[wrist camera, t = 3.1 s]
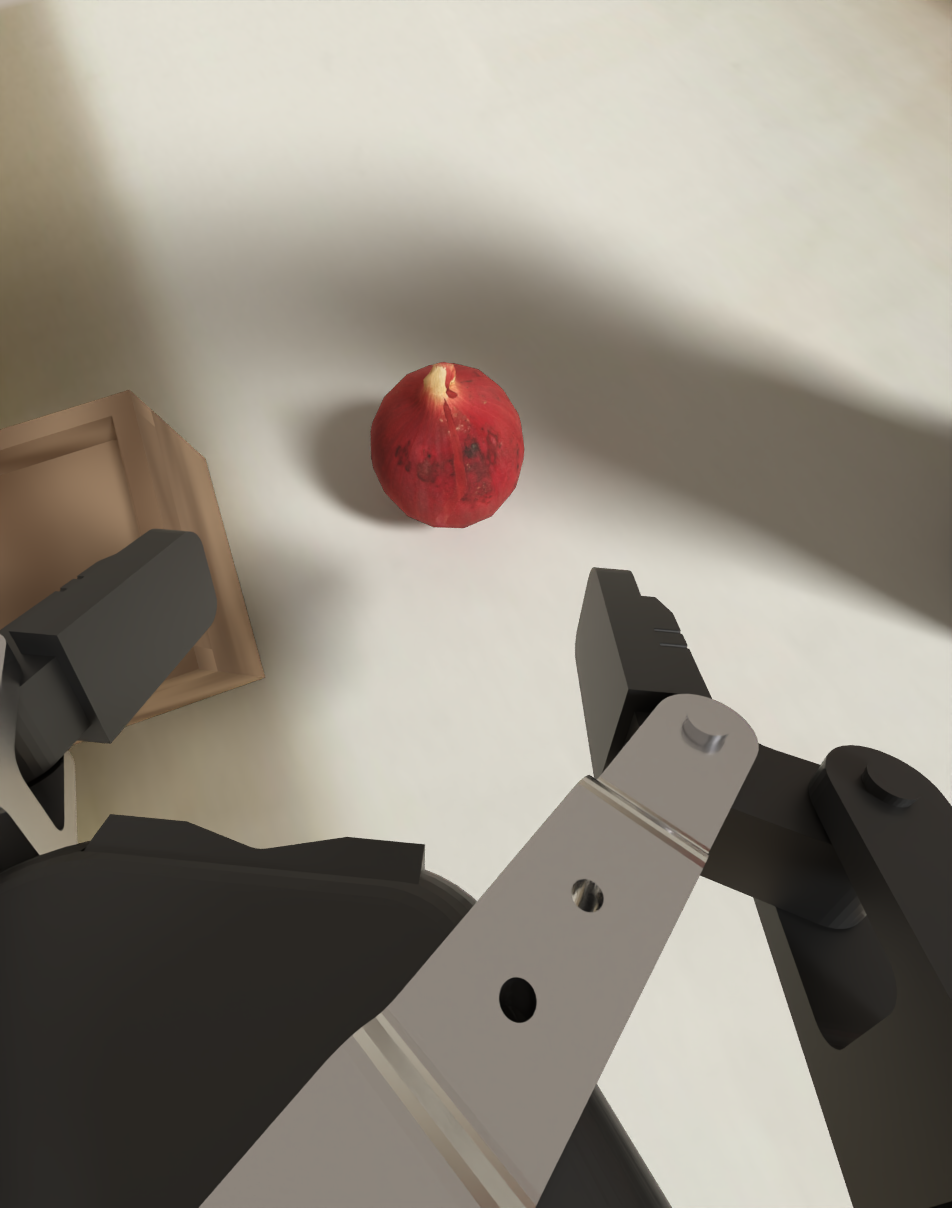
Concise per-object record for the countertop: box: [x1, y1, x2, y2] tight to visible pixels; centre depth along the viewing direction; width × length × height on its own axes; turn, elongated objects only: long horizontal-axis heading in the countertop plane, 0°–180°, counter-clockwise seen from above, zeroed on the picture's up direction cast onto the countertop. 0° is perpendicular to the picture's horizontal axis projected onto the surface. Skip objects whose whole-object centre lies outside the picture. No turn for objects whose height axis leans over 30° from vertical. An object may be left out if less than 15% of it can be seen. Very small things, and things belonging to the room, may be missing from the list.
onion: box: [371, 362, 524, 528], centre depth 19 cm, size 6×6×8 cm
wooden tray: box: [0, 390, 265, 745], centre depth 19 cm, size 11×11×5 cm
